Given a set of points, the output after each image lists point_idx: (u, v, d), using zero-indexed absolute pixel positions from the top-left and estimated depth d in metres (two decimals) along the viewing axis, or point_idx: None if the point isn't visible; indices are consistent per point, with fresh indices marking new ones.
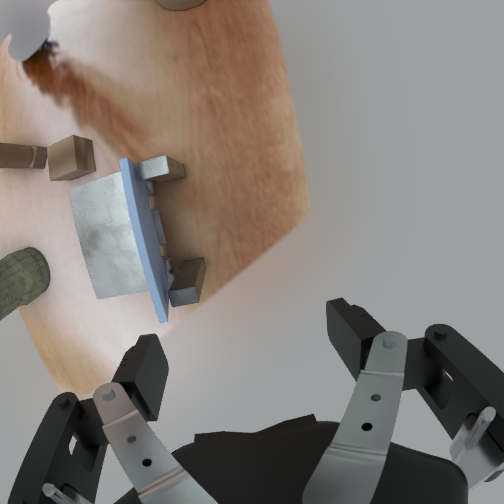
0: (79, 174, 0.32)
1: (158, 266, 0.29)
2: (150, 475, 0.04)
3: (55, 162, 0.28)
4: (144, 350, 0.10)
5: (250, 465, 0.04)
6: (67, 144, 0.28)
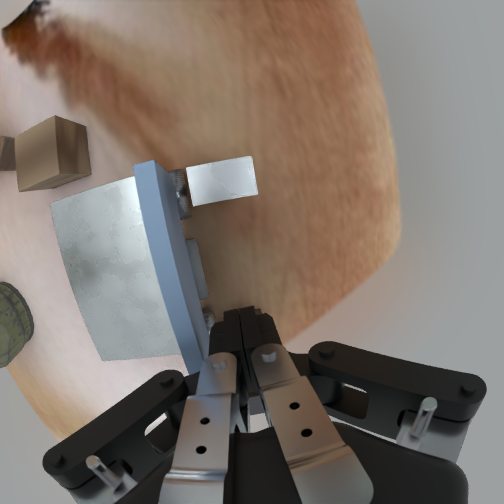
0: (65, 180, 0.20)
1: None
2: (193, 462, 0.04)
3: (26, 161, 0.15)
4: (237, 323, 0.11)
5: (250, 465, 0.04)
6: (45, 132, 0.15)
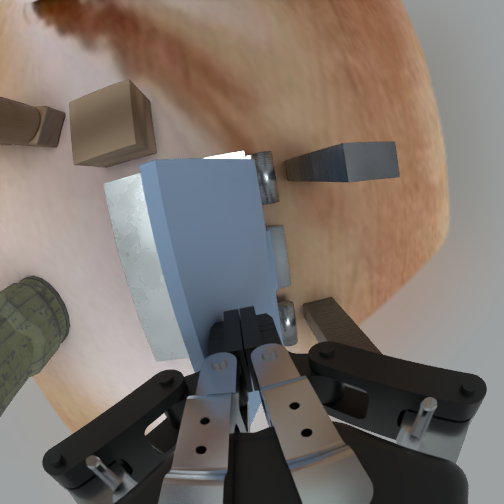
0: (128, 156, 0.19)
1: None
2: (194, 462, 0.04)
3: (86, 129, 0.15)
4: (237, 322, 0.11)
5: (250, 465, 0.04)
6: (116, 96, 0.14)
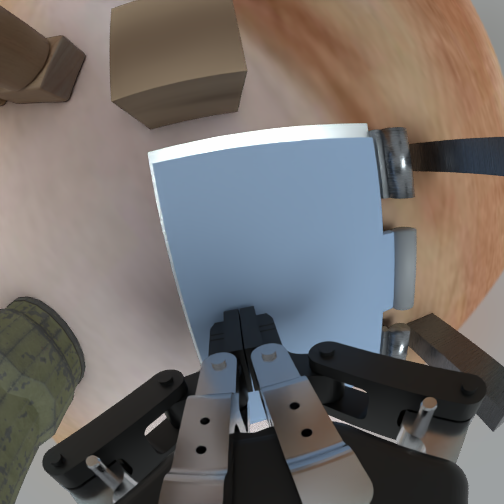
0: (198, 108, 0.12)
1: None
2: (193, 462, 0.04)
3: (143, 43, 0.07)
4: (237, 322, 0.11)
5: (250, 465, 0.04)
6: (205, 0, 0.07)
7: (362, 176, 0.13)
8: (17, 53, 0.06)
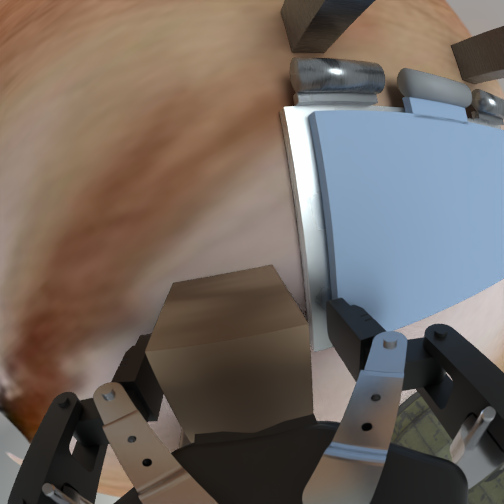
0: None
1: (486, 215, 0.12)
2: (150, 475, 0.04)
3: (253, 416, 0.09)
4: (144, 350, 0.10)
5: (250, 465, 0.04)
6: (187, 374, 0.08)
7: (362, 134, 0.10)
8: None
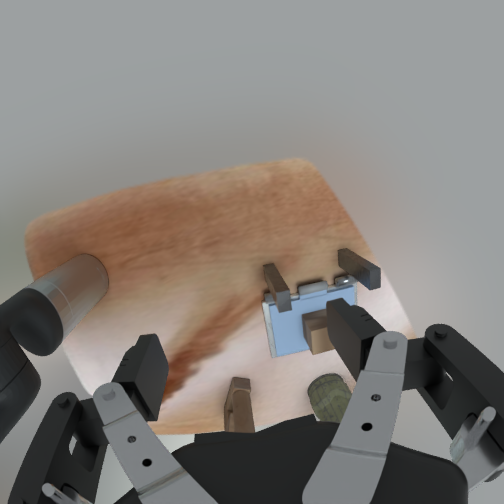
0: None
1: None
2: (150, 475, 0.04)
3: (327, 344, 0.42)
4: (144, 350, 0.10)
5: (250, 465, 0.04)
6: (317, 334, 0.42)
7: None
8: (246, 399, 0.46)
